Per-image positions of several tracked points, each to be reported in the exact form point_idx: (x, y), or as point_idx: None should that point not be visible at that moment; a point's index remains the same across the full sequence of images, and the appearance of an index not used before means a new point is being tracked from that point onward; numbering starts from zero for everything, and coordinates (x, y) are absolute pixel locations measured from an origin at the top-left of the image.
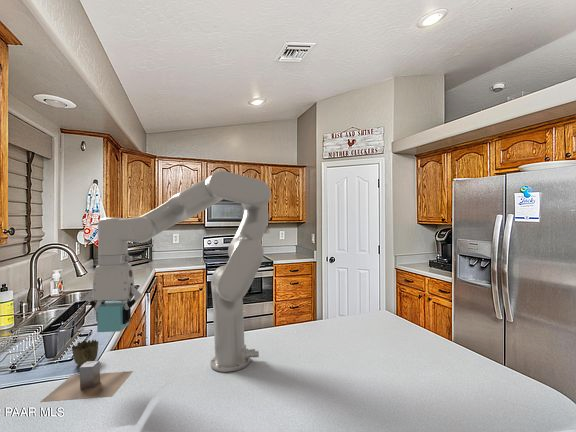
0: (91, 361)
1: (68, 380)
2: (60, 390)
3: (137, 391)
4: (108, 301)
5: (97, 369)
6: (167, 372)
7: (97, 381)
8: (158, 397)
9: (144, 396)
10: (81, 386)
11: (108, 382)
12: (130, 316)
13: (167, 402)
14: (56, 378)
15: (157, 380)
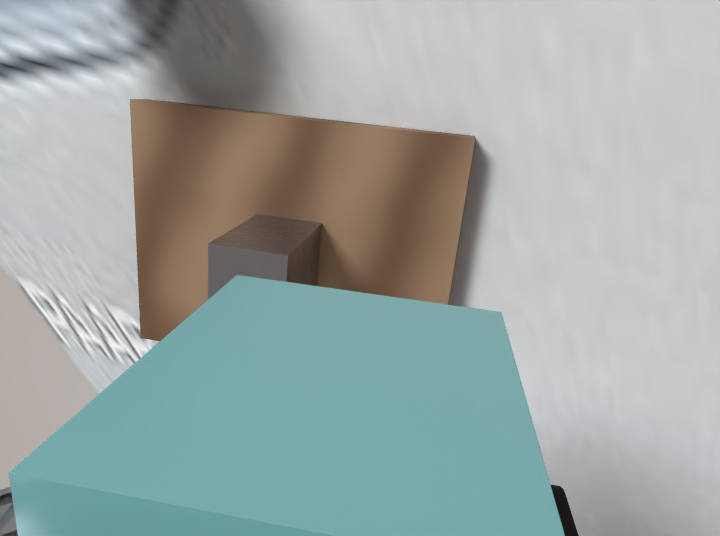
0: (240, 252)
1: (147, 161)
2: (168, 261)
3: (532, 319)
4: (35, 489)
5: (299, 268)
6: (687, 143)
7: (316, 255)
8: (644, 404)
9: (574, 375)
10: None
11: (370, 247)
12: (565, 509)
13: (688, 456)
14: (48, 47)
15: (627, 233)
